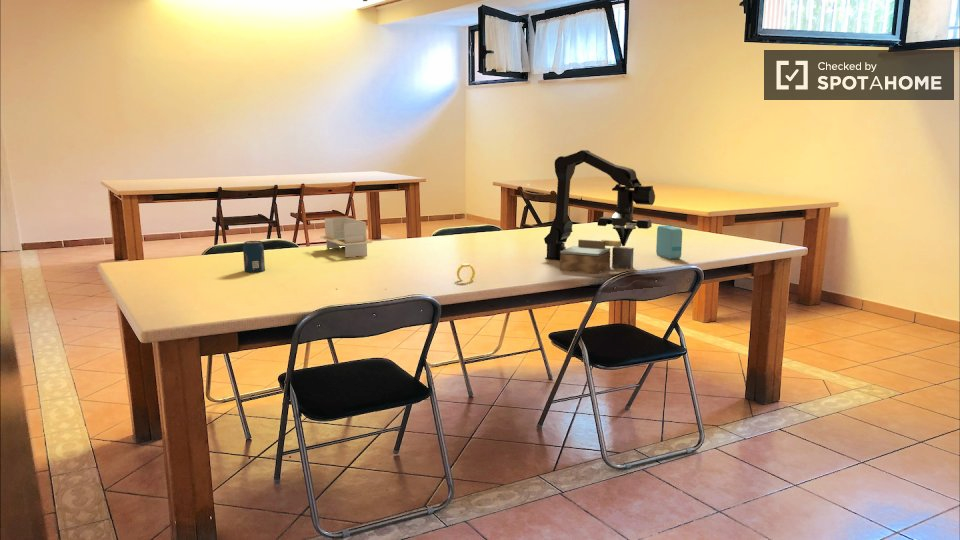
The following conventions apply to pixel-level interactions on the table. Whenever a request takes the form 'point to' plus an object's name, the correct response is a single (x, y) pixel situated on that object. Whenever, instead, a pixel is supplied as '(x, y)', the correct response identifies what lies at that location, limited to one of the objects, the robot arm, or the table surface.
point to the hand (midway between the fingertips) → (623, 246)
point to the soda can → (253, 257)
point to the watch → (465, 266)
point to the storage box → (585, 263)
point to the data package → (669, 242)
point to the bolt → (612, 243)
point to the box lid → (587, 248)
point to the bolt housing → (622, 257)
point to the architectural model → (346, 235)
